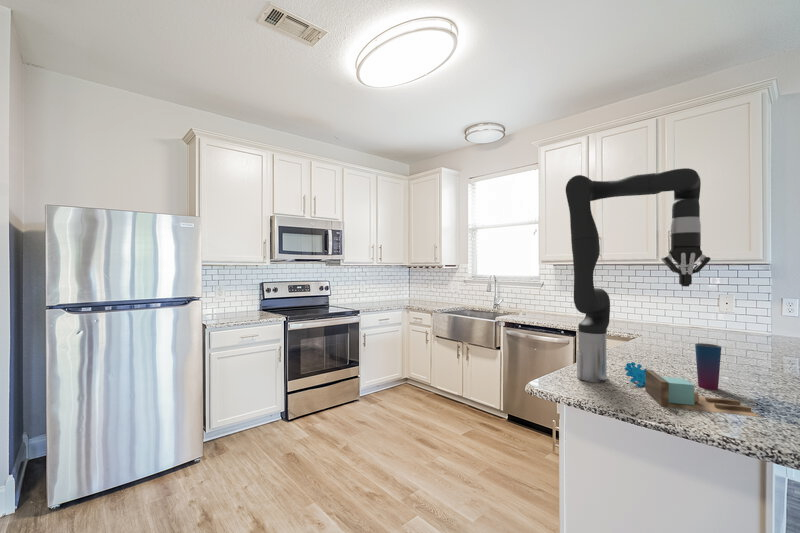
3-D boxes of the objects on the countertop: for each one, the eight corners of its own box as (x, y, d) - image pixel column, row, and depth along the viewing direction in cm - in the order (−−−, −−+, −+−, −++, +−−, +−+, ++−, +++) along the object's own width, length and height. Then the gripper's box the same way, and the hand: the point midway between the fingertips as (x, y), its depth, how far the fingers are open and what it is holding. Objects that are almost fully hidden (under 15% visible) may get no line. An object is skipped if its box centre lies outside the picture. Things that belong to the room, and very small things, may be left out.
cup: (726, 394, 119) (726, 347, 119) (702, 392, 120) (702, 346, 121) (713, 387, 126) (713, 343, 126) (690, 386, 127) (690, 342, 127)
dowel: (667, 398, 109) (665, 388, 110) (664, 399, 112) (662, 389, 113) (699, 402, 107) (697, 391, 108) (695, 403, 109) (693, 392, 110)
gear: (636, 385, 121) (622, 359, 129) (624, 394, 125) (611, 368, 132) (664, 388, 123) (649, 362, 130) (652, 397, 127) (638, 371, 134)
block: (665, 402, 108) (665, 382, 108) (657, 394, 114) (657, 376, 114) (694, 405, 106) (694, 385, 106) (684, 397, 112) (684, 378, 112)
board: (661, 409, 105) (661, 381, 105) (645, 393, 118) (645, 369, 119) (762, 420, 98) (761, 390, 98) (733, 402, 111) (733, 376, 111)
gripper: (665, 231, 116) (665, 286, 116) (716, 230, 112) (716, 287, 112) (657, 233, 123) (656, 285, 123) (704, 233, 119) (704, 286, 119)
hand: (685, 286), depth 117 cm, fingers closed
